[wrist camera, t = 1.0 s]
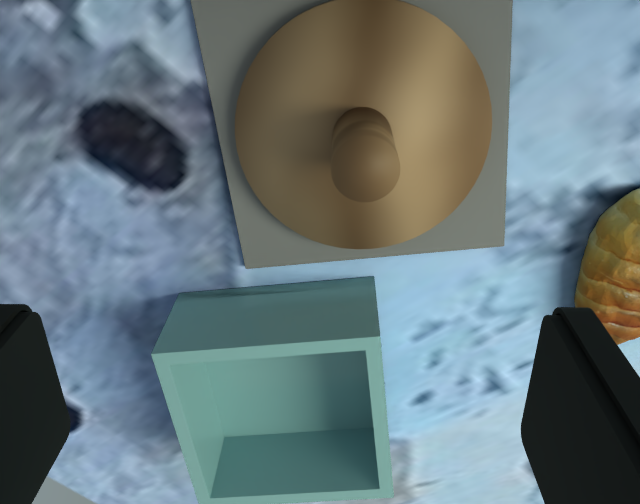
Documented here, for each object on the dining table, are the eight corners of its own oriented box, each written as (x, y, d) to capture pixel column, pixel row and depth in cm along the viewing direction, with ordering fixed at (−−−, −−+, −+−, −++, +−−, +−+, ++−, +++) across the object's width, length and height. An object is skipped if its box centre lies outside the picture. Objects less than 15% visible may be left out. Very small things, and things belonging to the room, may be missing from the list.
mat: (511, -49, 26) (514, -49, 26) (502, 242, 33) (504, 246, 33) (191, -7, 28) (189, -7, 27) (246, 265, 34) (245, 268, 34)
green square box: (374, 276, 35) (380, 336, 29) (386, 424, 40) (393, 497, 35) (179, 293, 36) (151, 354, 30) (218, 435, 41) (200, 507, 36)
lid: (491, -22, 26) (526, -14, 21) (486, 231, 32) (513, 285, 27) (214, 13, 28) (185, 29, 22) (259, 252, 34) (244, 307, 28)
